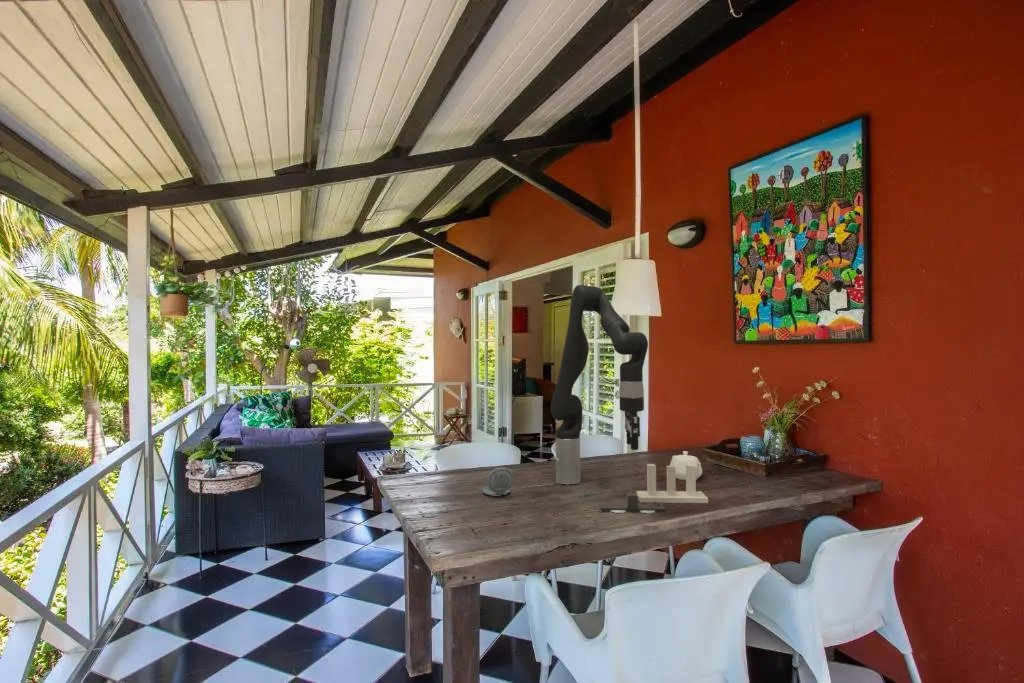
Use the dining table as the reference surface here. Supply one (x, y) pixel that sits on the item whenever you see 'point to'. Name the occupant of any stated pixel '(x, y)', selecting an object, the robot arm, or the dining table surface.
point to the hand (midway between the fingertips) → (632, 446)
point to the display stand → (672, 488)
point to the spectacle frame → (633, 506)
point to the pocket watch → (499, 482)
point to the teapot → (681, 463)
